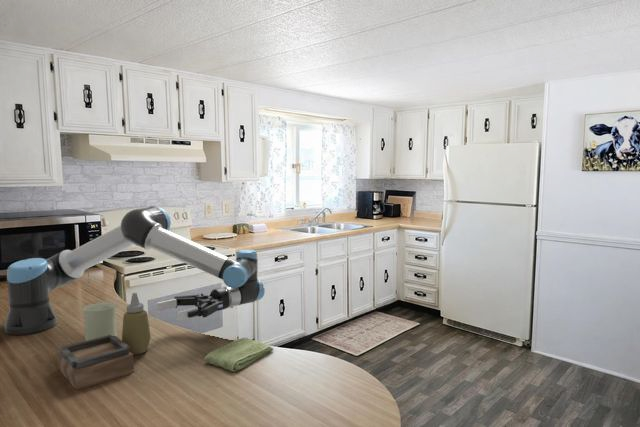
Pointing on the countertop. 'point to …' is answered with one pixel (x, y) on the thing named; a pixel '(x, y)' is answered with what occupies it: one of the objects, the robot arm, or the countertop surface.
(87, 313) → the can
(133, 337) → the squeeze bottle
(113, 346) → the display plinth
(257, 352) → the washcloth
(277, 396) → the countertop surface
